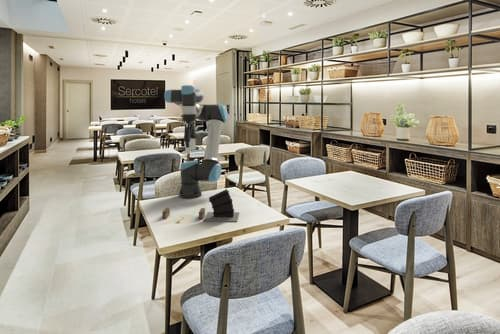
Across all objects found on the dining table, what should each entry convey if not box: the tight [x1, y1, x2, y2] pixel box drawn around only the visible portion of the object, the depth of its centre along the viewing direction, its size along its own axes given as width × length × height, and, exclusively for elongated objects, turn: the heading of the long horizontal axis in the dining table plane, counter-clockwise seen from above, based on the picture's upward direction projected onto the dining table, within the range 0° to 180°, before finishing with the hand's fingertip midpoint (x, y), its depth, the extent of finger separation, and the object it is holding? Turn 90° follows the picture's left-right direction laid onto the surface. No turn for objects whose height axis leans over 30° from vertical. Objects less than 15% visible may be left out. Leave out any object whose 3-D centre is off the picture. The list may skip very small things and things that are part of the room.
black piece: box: [208, 189, 235, 217], centre depth 190 cm, size 4×13×15 cm, turn 87°
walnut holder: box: [161, 207, 206, 220], centre depth 192 cm, size 22×7×4 cm, turn 87°
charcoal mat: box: [202, 211, 240, 223], centre depth 191 cm, size 14×18×1 cm
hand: (190, 151), depth 198 cm, fingers open, 13 cm apart
